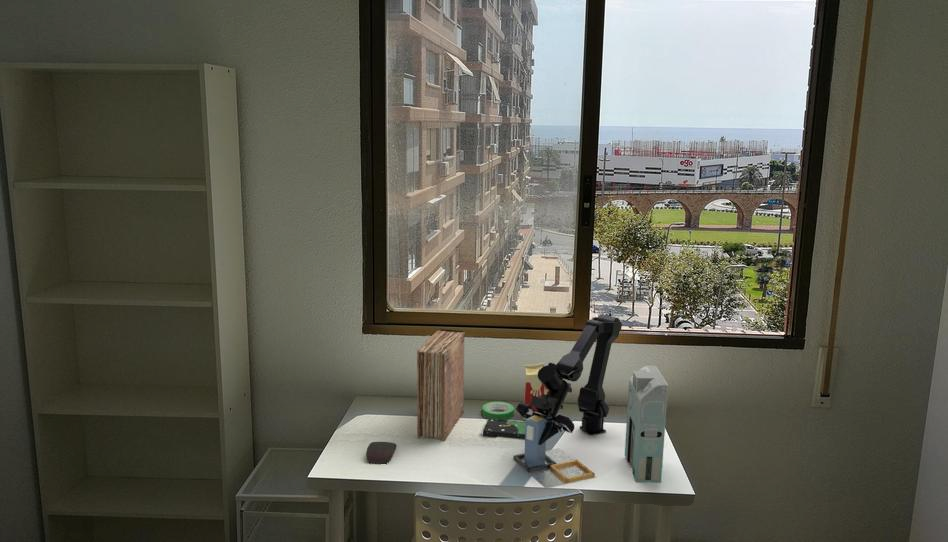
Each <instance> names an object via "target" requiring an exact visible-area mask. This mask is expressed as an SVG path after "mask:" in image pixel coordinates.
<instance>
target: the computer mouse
mask: <svg viewBox="0 0 948 542" xmlns="http://www.w3.org/2000/svg"><path fill="white" fill-rule="evenodd" d="M396 449H397V444H396V443H395V442H391V441H372V442H371V443H369V444H368V446H367V448H366V452H365V456H366V461H367V464H368V463H369V464H370V465H381V464H386V465H388V464H389V463H390V462H391V460H392V459H391V458H393V456H394V454H395V452H394V451H396ZM389 461H390V462H389ZM387 463H388V464H387Z"/></svg>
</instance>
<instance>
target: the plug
mask: <svg viewBox="0 0 948 542" xmlns="http://www.w3.org/2000/svg"><path fill="white" fill-rule="evenodd" d="M524 422H525V439H524V453H525V456H524V463H526V464H529V465H532V466H539V465H541V464H543V463H544V462H545V451H547V450H546V447H547V445H546V444H547V443H546V442H547V441H545V442H544V443H543V444H542V445H539V444H538V443H539V440H540V438H541V436H542V434H543V432H544V430H545V428H546V423H547V419H545V418H542V417H539V416H536V415H534V416H532V417H530V418H528V419H526V420H525V421H524Z"/></svg>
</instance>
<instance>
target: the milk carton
mask: <svg viewBox="0 0 948 542" xmlns="http://www.w3.org/2000/svg"><path fill="white" fill-rule="evenodd" d="M544 366H545V362H541V363H536V364H523V367H524V368H525V385H524V396H523V397H524V398H523V399H524V400H523V403H525V404H528V405H530V402H531V399H532V395H534V396H537V397H542V395H543V394H545V395H546V393H547V391H548V389H546V387H545V386H544V385H543V384H542V382H541V381H540V380H539V379H538V371H539V370H540V369H541V368H542V367H544ZM531 407H532V408H533V409H534V410H535V411H538V410H537V409H535V406H531ZM540 416H541V415H540ZM522 420H523V421H526V418H524V417H522Z"/></svg>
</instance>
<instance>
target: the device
mask: <svg viewBox="0 0 948 542" xmlns="http://www.w3.org/2000/svg"><path fill="white" fill-rule="evenodd" d="M668 391H669V384H668V382H667V381H666V380H665V378H664V376H663V375H662V374H661V372H660V370H659V368H657V366H656V365H645V366H643V367H641V368H640V369H639V370H638V371H633V373H632V376H631V377H630V378H629V380H628V391H627V392H628V393H627V411H626V424H625V425H626V426H625V441H624V442H625V443H624V457H625V459H626V461H627V463H628V464H629V466H630V469H631V468H632V469H631V474H632V476H633V479H634V481H635V482H636V483H662V476H663V475H662V474H663V465H664V464H663V460H664V448H665V435H666V434H665V433H666V420H667V419H666V418H667V407H668V406H667V404H668V393H669V392H668Z"/></svg>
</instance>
